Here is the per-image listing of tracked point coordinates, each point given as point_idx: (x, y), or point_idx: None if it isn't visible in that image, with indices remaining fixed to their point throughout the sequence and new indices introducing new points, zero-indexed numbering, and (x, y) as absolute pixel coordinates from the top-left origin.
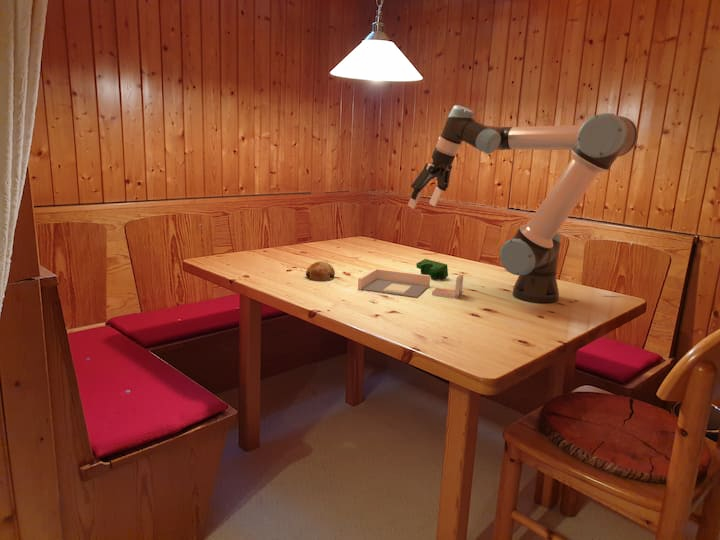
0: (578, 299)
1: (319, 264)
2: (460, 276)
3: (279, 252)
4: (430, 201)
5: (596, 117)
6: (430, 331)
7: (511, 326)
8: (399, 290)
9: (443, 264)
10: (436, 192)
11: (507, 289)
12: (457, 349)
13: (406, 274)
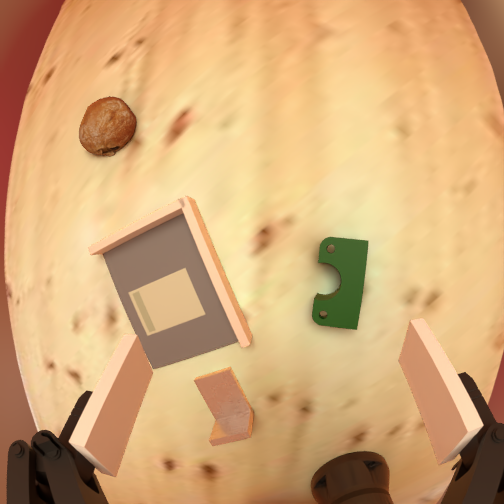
0: None
1: (84, 126)
2: (231, 439)
3: None
4: (414, 337)
5: None
6: None
7: (175, 499)
8: (155, 318)
9: (353, 319)
10: (442, 417)
11: (366, 435)
12: None
13: (215, 288)
